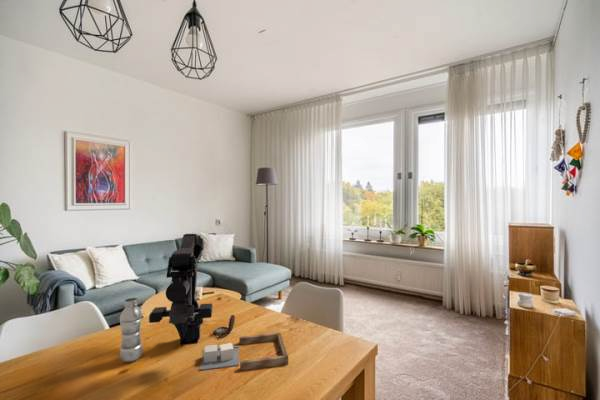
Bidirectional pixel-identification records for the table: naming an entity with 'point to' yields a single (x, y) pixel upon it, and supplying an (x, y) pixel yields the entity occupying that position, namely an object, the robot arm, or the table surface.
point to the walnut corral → (264, 361)
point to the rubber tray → (221, 363)
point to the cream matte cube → (210, 353)
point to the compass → (225, 328)
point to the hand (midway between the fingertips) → (182, 338)
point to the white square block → (226, 351)
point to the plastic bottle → (131, 331)
